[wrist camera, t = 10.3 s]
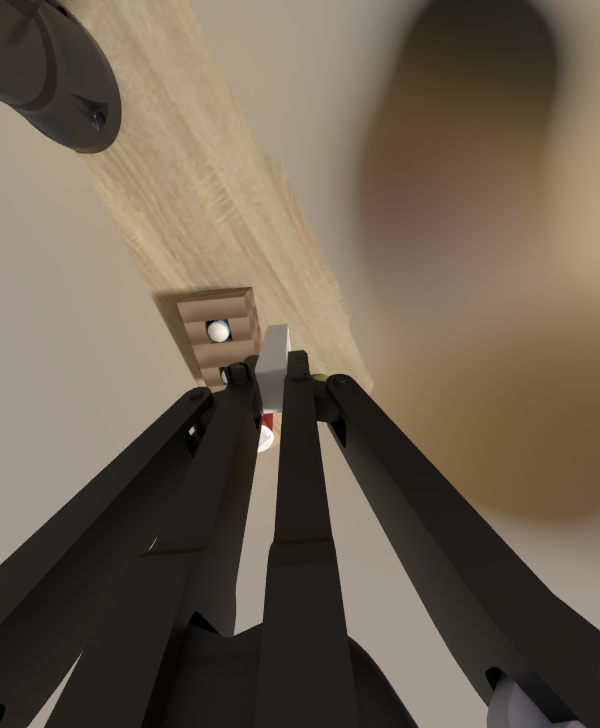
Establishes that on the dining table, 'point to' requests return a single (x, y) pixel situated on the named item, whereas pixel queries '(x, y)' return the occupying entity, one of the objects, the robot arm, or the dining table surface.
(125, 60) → the dining table surface
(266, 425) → the coffee cup
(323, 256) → the dining table surface
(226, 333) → the peg
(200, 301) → the collar block
